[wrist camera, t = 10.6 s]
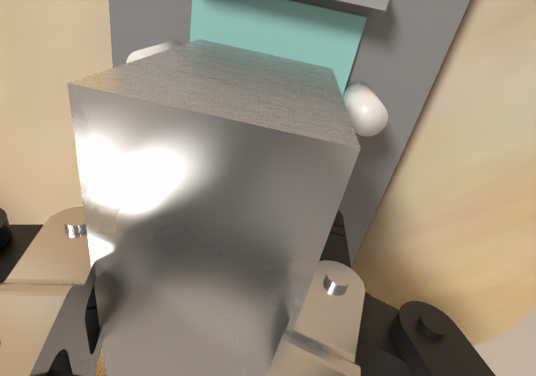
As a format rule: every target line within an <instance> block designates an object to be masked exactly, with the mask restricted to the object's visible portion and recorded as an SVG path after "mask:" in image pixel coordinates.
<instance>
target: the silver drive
mask: <svg viewBox="0 0 536 376" xmlns="http://www.w3.org/2000/svg"><path fill="white" fill-rule="evenodd" d="M67 84H68V91H69V99H70V106H71V114H72V122H73V129H74V137H75V144H76V152H77V159H78V167H79V175H80V182H81V190H82V197H83V205H84V212H85V220H86V228H87V235H88V243H89V250H90V258H91V260H92V261H94V262H95V270H96V281H95V283H94V288H95V296H96V303H97V311H98V318H99V326H103V334H104V341H103V344H102V349H103V356H104V364H105V371H106V376H266V375H267V373H268V370H269V368H270V365H271V363H272V360H273V358H274V355H275V353H276V350H277V348H278V345H279V343H280V340H281V338H282V335H283V333H284V331H285V330H286V328H287V325H288V323H289V320H290V317H291V315H292V312H293V310H294V307H295V305H296V306H300V307H302V306H303V303H304V300H305V298H306V295H307V292H308V289H309V287H310V284H311V281H312V279H313V276H314V273H315V270H316V268H317V265H318V262H319V260H320V257H321V254H322V252H323V249H324V246H325V243H326V241H327V238H328V235H329V233H330V230H331V227H332V225H333V222H334V219H335V216H336V214H337V211H338V208H339V206H340V203H341V200H342V198H343V195H344V192H345V189H346V187H347V184H348V181H349V179H350V176H351V173H352V171H353V168H354V165H355V162H356V160H357V157H358V154H359V152H360V149H361V148H360V145H359V142H358V139H357V136H356V134H355V131H354V128H353V125H352V122H351V119H350V117H349V114H348V111H347V108H346V105H345V103H344V100H343V97H342V94H341V91H340V88H339V86H338V83H337V80H336V77H335V74H334V72H333V69H332V68H328V67H324V66H319V65H315V64H310V63H306V62H301V61H297V60H292V59H288V58H283V57H279V56H274V55H269V54H265V53H260V52H256V51H251V50H247V49H242V48H238V47H233V46H229V45H224V44H220V43H215V42H211V41H206V40H202V39H198V40H195V41H192V42H189V43H186V44H183V45H180V46H177V47H174V48H171V49H168V50H165V51H162V52H159V53H156V54H153V55H150V56H147V57H144V58H141V59H138V60H135V61H132V62H129V63H126V64H123V65H120V66H117V67H114V68H111V69H109V70H106V71H103V72H100V73H97V74H94V75H91V76H88V77H85V78H82V79H79V80H76V81H73V82H70V83H67Z"/></svg>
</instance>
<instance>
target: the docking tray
mask: <svg viewBox="0 0 536 376" xmlns="http://www.w3.org/2000/svg"><path fill="white" fill-rule="evenodd" d="M469 2H470V0H109V10H110V26H111V42H112V59H113V68H114V67H117V66H120V65H123V64H126V63H129V62H132V61H135V60H138V59H141V58H144V57H147V56H150V55H153V54H156V53H159V52H162V51H165V50H168V49H171V48H174V47H177V46H180V45H183V44H186V43H189V42H192V41H195V40H198V39H202V40H206V41H211V42H215V43H220V44H224V45H229V46H233V47H238V48H242V49H247V50H251V51H256V52H260V53H265V54H269V55H274V56H279V57H283V58H288V59H292V60H297V61H301V62H306V63H310V64H315V65H319V66H324V67H328V68H332V69H333V72H334V74H335V77H336V80H337V83H338V86H339V88H340V91H341V94H342V97H343V100H344V103H345V105H346V108H347V111H348V114H349V117H350V119H351V122H352V125H353V128H354V131H355V134H356V136H357V139H358V142H359V145H360V148H361V149H360V152H359V154H358V157H357V160H356V162H355V165H354V168H353V171H352V173H351V176H350V179H349V181H348V184H347V187H346V189H345V192H344V195H343V198H342V200H341V203H340V206H339V208H338V210H339V211H340V212H341V214H342V215H343V219H344V225H345V227H344V228H345V231H346V238H347V244H348V250H349V257H350V263H351V267H352V264H353V262H354V260H355V258H356V256H357V253H358V251H359V249H360V247H361V244H362V242H363V240H364V238H365V235H366V233H367V231H368V229H369V226H370V224H371V222H372V220H373V217H374V215H375V213H376V211H377V208H378V206H379V204H380V202H381V199H382V197H383V195H384V193H385V190H386V188H387V186H388V184H389V181H390V179H391V177H392V175H393V172H394V170H395V168H396V166H397V163H398V161H399V159H400V157H401V154H402V152H403V150H404V148H405V145H406V143H407V141H408V139H409V136H410V134H411V132H412V130H413V128H414V125H415V123H416V121H417V119H418V116H419V114H420V112H421V110H422V107H423V105H424V103H425V101H426V98H427V96H428V94H429V92H430V89H431V87H432V85H433V83H434V80H435V78H436V76H437V74H438V71H439V69H440V67H441V65H442V62H443V60H444V58H445V56H446V53H447V51H448V49H449V47H450V44H451V42H452V40H453V38H454V35H455V33H456V31H457V29H458V26H459V24H460V22H461V20H462V17H463V15H464V13H465V11H466V8H467V6H468V4H469Z"/></svg>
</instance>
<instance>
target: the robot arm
mask: <svg viewBox="0 0 536 376" xmlns="http://www.w3.org/2000/svg"><path fill="white" fill-rule="evenodd" d="M344 227H345V225H344V219H343V215H342V214H341V212H340V211H339V210H338V211H337V214H336V216H335V219H334V222H333V225H332V227H331V230H330V233H329V235H328V238H327V241H326V243H325V246H324V249H323V252H322V254H321V257H320V260H319V262H318V265H317V268H316V270H315V273H314V276H313V279H312V281H311V284H310V287H309V289H308V292H307V295H306V298H305V300H304V303H303V306H302V307H300V306H296V305H295V307H294V310H293V312H292V315H291V317H290V320H289V323H288V325H287V328H286V330H285V331H284V333H283V335H282V338H281V340H280V343H279V345H278V348H277V350H276V353H275V355H274V358H273V360H272V363H271V365H270V368H269V370H268V373H267V375H266V376H495V374H494V373H493V372H492V371H491V369H490V368H489V367H488V366H487V364H486V363H485V362H484V360H483V359H482V358H481V356H480V355H479V354H478V353H477V351H476V350H475V349H474V347H473V346H472V345H471V343H470V342H469V341H468V340H467V338H466V337H465V336H464V334H463V333H462V332H461V331H460V329H459V328H458V327H457V325H456V324H455V323H454V322H453V321H452V320H451V319H450V318H449V317H448V316H447V315H446V314H445V313H443V312H442V311H440V310H439V309H437V308H436V307H434V306H432V305H429V304H427V303H424V302H419V301H410V302H407V303H405V304H404V305H402V307H401V308H400V310H398V309H396V308H394V307H392V306H390V305H388V304H386V303H384V302H381V301H379V300H378V299H376V298H374V297H372V296H371V295H369V294H368V293H367V292H366V291H365V286H364V284H363V281H362V280H361V278H360V277H359V276H358V274H357V273H356V272H355V271H353V270H352V269H351V263H350V257H349V250H348V244H347V238H346V231H345V228H344ZM95 281H96V270H95V262H94V261H92V260H91V258H90V250H89V243H88V235H87V228H86V220H85V212H84V207H76V208H70V209H66V210H63V211H61V212H58V213H56V214H55V215H53V216H51V217H50V218H49V219H48V220H47V221H46V222H45V224H44V225H9V222H8V218H7V215H6V213H5V211H4V210H2V209H1V208H0V376H95V371H96V365H97V361H98V358H99V354H100V351H101V348H102V344H103V341H104V334H103V326H99V318H98V311H97V303H96V296H95V288H94V283H95Z"/></svg>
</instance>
